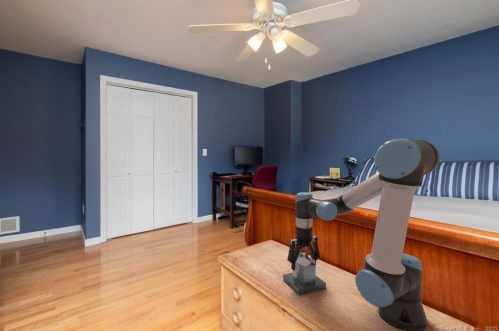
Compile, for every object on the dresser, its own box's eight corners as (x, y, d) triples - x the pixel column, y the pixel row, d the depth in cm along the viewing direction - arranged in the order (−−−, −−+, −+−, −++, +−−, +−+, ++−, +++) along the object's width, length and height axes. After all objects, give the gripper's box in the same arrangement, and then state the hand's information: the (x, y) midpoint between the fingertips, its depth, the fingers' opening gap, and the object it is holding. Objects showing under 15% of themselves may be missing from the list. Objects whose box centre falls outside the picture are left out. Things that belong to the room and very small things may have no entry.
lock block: (315, 282, 109) (315, 264, 109) (304, 284, 107) (304, 267, 107) (304, 273, 118) (304, 257, 117) (293, 275, 116) (293, 259, 115)
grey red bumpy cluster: (317, 267, 124) (304, 248, 126) (301, 277, 127) (288, 258, 129) (319, 259, 134) (306, 241, 136) (304, 268, 137) (292, 251, 139)
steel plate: (326, 288, 109) (326, 283, 109) (299, 295, 104) (299, 289, 104) (307, 274, 122) (307, 269, 122) (283, 279, 117) (283, 274, 117)
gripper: (318, 221, 119) (318, 267, 120) (279, 226, 111) (279, 275, 112) (328, 226, 112) (328, 274, 113) (287, 231, 104) (287, 283, 105)
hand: (303, 274), depth 113 cm, fingers open, 9 cm apart
